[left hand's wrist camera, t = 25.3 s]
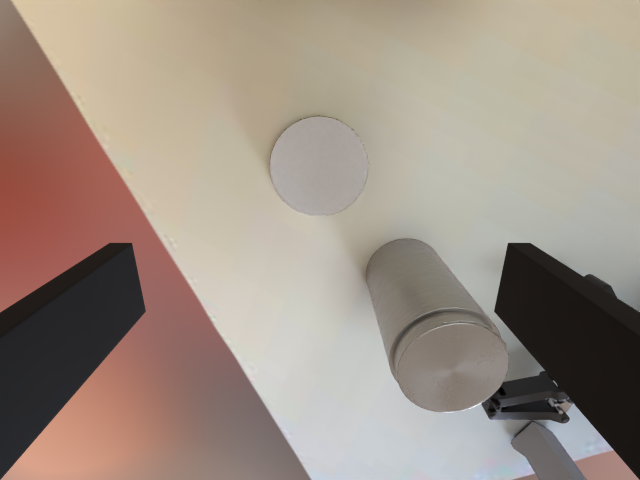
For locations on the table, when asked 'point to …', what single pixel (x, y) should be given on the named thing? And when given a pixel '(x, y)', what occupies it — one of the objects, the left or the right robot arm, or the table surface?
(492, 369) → the jar
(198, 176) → the table surface
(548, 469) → the vintage mobile phone
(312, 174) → the lid
